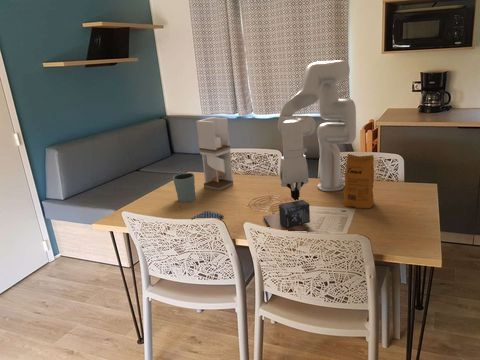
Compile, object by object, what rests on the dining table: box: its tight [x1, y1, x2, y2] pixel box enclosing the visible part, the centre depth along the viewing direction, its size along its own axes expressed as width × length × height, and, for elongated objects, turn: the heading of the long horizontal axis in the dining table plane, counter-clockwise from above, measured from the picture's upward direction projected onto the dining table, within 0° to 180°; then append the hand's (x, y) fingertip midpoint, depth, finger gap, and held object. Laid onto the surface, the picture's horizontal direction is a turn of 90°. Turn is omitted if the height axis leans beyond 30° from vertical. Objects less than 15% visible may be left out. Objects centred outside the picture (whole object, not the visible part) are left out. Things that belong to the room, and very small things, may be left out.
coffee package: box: [343, 153, 375, 209], centre depth 169 cm, size 10×12×22 cm
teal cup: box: [172, 172, 197, 203], centre depth 195 cm, size 10×10×12 cm
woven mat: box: [190, 210, 225, 220], centre depth 170 cm, size 10×11×2 cm
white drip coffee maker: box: [196, 116, 234, 191], centre depth 207 cm, size 11×11×35 cm
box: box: [278, 199, 311, 228], centre depth 155 cm, size 8×6×11 cm
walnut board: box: [263, 213, 309, 232], centre depth 158 cm, size 12×18×2 cm
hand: (295, 198), depth 156 cm, fingers closed
